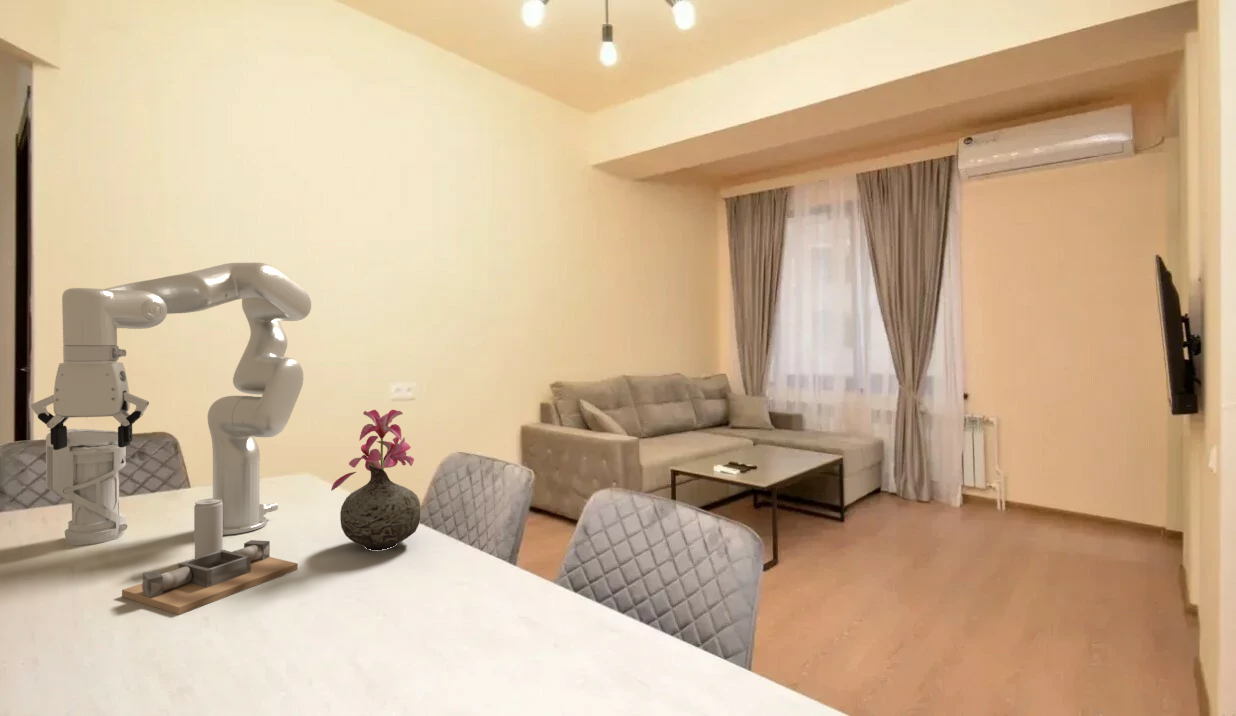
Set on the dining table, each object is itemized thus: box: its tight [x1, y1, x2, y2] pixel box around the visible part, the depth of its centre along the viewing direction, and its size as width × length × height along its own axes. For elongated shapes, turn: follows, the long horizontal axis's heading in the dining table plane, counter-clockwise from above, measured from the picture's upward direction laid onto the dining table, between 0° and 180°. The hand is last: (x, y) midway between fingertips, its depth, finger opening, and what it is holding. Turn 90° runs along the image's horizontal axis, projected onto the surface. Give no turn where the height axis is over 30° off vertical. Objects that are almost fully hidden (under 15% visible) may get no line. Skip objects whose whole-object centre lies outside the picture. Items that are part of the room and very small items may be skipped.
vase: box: [330, 409, 421, 550], centre depth 133 cm, size 17×17×30 cm
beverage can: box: [193, 497, 224, 559], centre depth 124 cm, size 5×5×12 cm
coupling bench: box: [121, 539, 299, 615], centre depth 112 cm, size 22×16×4 cm
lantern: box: [45, 428, 128, 546], centre depth 134 cm, size 13×10×25 cm
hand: (92, 447), depth 112 cm, fingers open, 9 cm apart
